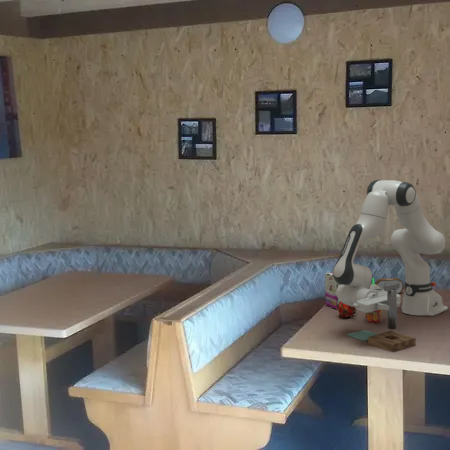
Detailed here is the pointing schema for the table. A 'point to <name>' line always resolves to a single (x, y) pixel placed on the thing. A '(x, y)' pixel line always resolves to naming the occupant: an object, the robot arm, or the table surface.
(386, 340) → the walnut key-slot block
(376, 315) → the smoothie
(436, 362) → the table surface
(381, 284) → the digital desk clock
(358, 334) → the teal rubber mat
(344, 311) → the dragon fruit
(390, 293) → the gunmetal T-key
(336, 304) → the candy bar box
